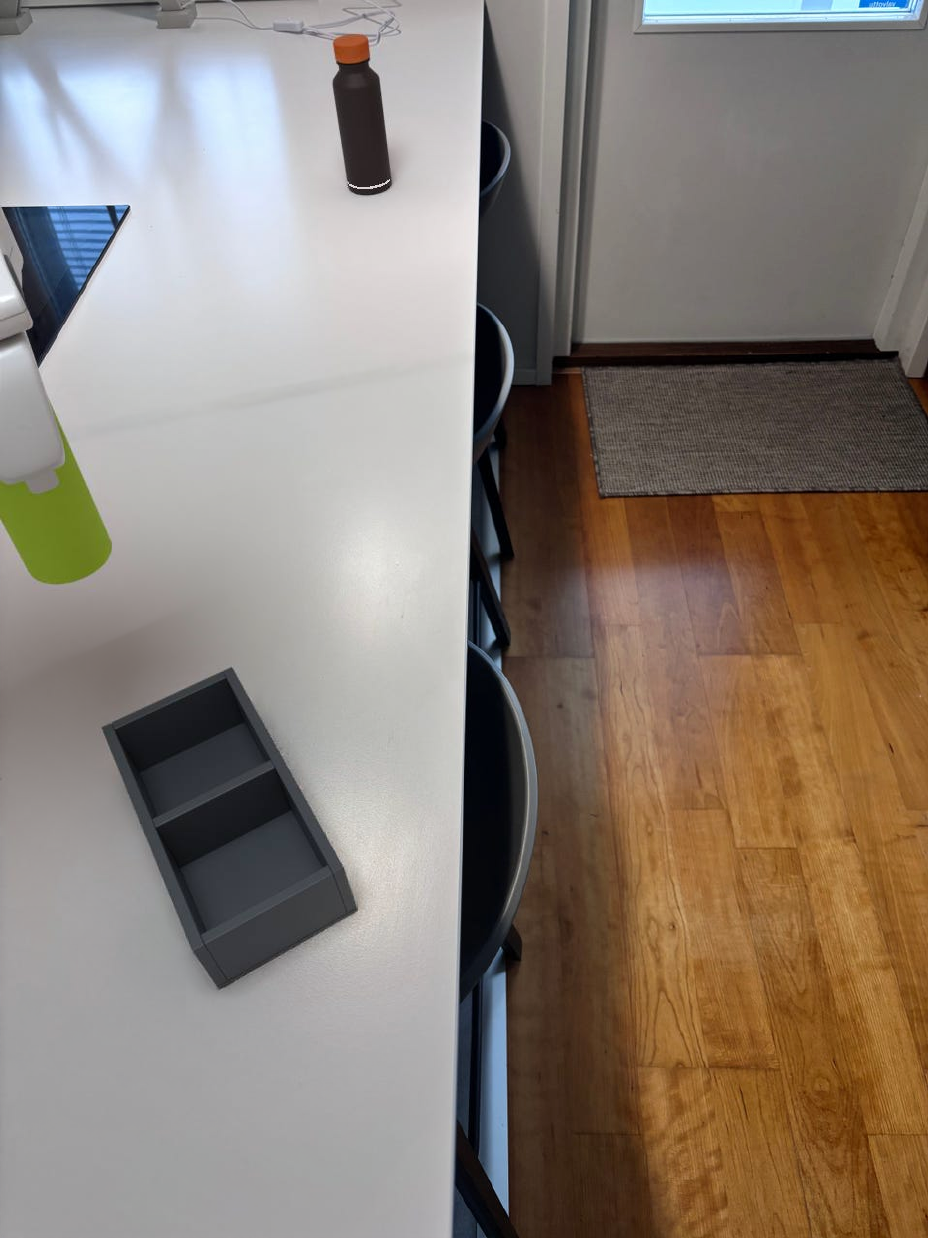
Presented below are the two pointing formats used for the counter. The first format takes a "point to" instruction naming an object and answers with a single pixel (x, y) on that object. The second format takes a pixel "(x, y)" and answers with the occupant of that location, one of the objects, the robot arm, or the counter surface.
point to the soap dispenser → (56, 525)
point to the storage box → (228, 827)
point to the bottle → (360, 116)
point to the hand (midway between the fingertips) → (31, 455)
